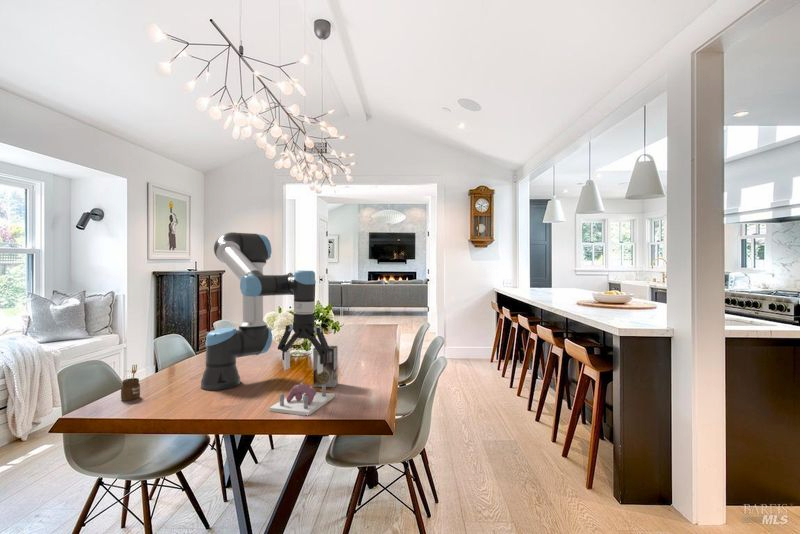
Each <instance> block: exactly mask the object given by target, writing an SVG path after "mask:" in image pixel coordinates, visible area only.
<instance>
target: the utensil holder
mask: <svg viewBox="0 0 800 534" xmlns="http://www.w3.org/2000/svg"><path fill="white" fill-rule="evenodd" d="M131 368H132V369H131V372H130V370H126V371H125V372H124V374H123V375H124V379H123V380H122V382H121V384H122V385H121V388H120V399H121V401H124V402H126V401H134V400H137V399H140V396H141V385H140V384H141V383H139V382H140V379H139V378H138V377H135V374H137V371H138V370H137V369H138V364H133V365H131ZM127 373H128V375H129V378H128V377H127V376H128V375H127ZM125 374H126V375H125ZM130 374H131V375H130Z"/></svg>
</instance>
